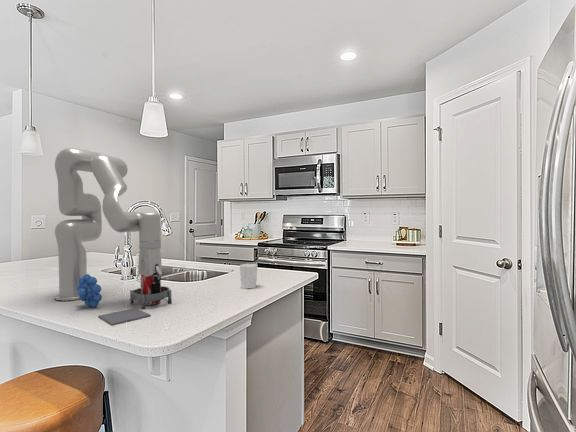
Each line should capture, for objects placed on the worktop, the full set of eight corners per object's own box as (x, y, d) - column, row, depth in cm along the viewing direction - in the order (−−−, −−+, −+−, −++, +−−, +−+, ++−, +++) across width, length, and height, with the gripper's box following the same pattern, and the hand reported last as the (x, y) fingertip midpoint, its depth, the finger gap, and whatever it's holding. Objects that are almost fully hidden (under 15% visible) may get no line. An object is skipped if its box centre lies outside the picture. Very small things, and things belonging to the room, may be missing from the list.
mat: (98, 317, 109) (98, 315, 109) (135, 309, 118) (135, 307, 118) (111, 325, 101) (111, 323, 101) (150, 316, 110) (150, 314, 110)
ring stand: (125, 303, 125) (125, 290, 125) (159, 297, 135) (159, 284, 135) (140, 310, 116) (140, 296, 116) (176, 303, 126) (175, 289, 126)
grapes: (67, 308, 120) (66, 275, 119) (85, 303, 126) (84, 272, 126) (89, 312, 115) (88, 277, 115) (106, 307, 121) (106, 274, 121)
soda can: (153, 306, 121) (153, 273, 121) (136, 305, 123) (136, 273, 122) (164, 301, 128) (164, 270, 128) (148, 300, 129) (147, 269, 129)
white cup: (256, 289, 147) (256, 266, 147) (238, 289, 147) (238, 266, 147) (258, 285, 155) (258, 263, 155) (241, 285, 155) (241, 263, 155)
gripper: (130, 244, 128) (131, 290, 128) (150, 247, 116) (151, 298, 117) (149, 243, 134) (150, 287, 134) (171, 246, 122) (171, 294, 122)
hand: (150, 292), depth 125 cm, fingers closed on soda can, 7 cm apart
